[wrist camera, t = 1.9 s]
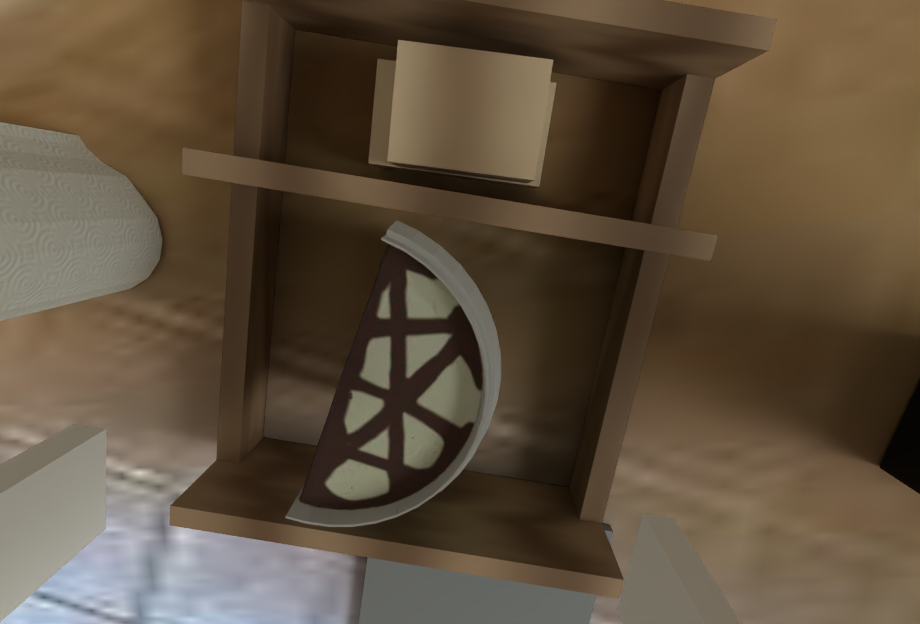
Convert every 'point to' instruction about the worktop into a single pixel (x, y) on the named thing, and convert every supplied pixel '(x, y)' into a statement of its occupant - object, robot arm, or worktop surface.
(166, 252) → the worktop surface
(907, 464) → the black bar
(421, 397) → the food container
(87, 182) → the paper towel roll
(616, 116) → the worktop surface
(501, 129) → the offcut upper
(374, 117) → the offcut lower
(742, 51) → the rack
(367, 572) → the mat
